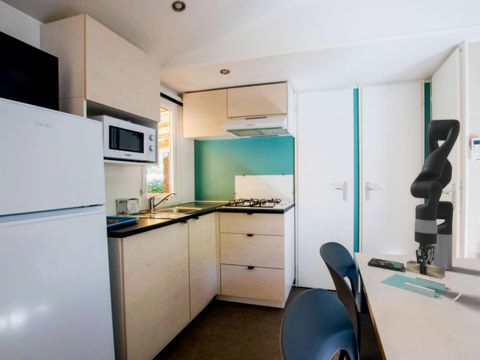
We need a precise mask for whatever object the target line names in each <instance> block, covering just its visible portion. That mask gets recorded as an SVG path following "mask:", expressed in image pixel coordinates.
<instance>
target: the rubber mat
mask: <svg viewBox="0 0 480 360" xmlns="http://www.w3.org/2000/svg"><path fill="white" fill-rule="evenodd" d="M380 283H381V284H385V285H388V286H392V287H396V288H398V289H402V290H405V291H409V292H411V293H415V294H418V295H422V296H425V297H428V298H431V299H435V300H436V299H438V298H439V297H440V296H441V295H442V294H444V293H445V292H446V291H448V290H449V289H450V287H447V286H445V288H444V289H443V288H440V287H436V286H432V285H429V284H425V283H421V282H417V281H416V278H413V277H410V276H406V275H402V274H399V273H394V275H391V276H389V277H387V278H385V279H384V280H382V281H381V280H380ZM405 283H410V284H414V285H417V286H421V287H424V288H428V289H432V290H435V296H434V297H433V296H430V295H427V294H423V293H420V292H416V291H413V290H410V289H406V288H405Z"/></svg>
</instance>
